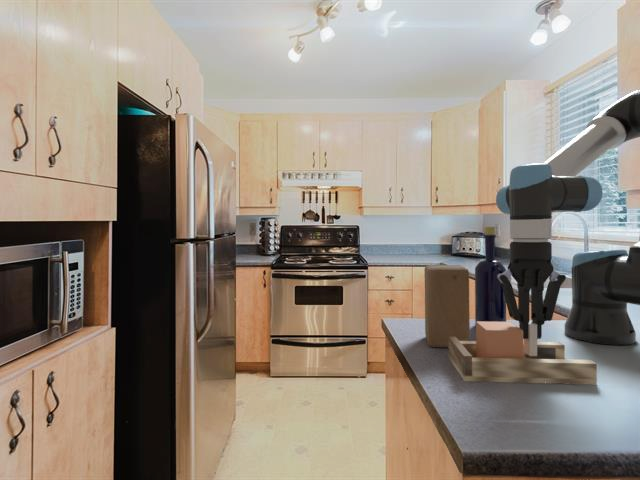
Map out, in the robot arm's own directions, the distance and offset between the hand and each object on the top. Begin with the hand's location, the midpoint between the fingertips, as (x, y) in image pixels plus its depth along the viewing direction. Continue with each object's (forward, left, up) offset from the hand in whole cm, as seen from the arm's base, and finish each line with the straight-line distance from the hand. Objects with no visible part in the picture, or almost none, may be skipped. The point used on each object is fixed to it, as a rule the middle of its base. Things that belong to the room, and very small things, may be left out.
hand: (530, 353), depth 76 cm
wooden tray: (+3, 0, -4) cm, 5 cm away
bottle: (-3, -33, -4) cm, 33 cm away
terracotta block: (+6, 0, -2) cm, 7 cm away
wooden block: (+13, -18, -4) cm, 23 cm away
